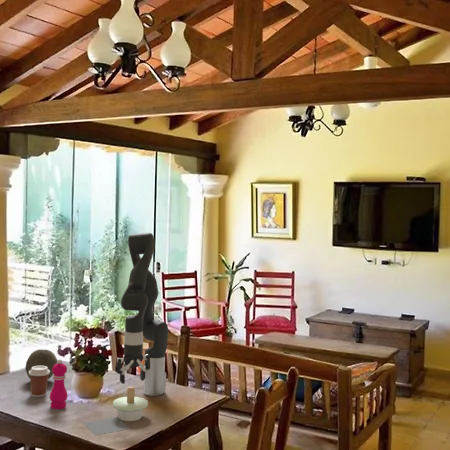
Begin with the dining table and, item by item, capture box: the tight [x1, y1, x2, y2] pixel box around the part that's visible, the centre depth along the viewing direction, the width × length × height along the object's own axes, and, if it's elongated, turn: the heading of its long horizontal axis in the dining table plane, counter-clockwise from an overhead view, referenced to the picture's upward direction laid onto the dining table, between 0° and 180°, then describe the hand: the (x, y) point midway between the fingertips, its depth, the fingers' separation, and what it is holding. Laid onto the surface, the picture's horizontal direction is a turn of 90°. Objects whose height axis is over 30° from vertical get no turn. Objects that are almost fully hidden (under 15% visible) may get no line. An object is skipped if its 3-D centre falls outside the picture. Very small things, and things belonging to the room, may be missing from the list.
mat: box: [82, 416, 131, 436], centre depth 234 cm, size 14×14×1 cm
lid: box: [112, 386, 149, 411], centre depth 245 cm, size 14×14×7 cm
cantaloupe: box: [25, 349, 58, 380], centre depth 286 cm, size 14×14×15 cm
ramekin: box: [116, 409, 144, 422], centre depth 245 cm, size 11×11×5 cm
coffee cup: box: [29, 366, 50, 398], centre depth 268 cm, size 9×9×12 cm
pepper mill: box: [49, 359, 68, 410], centre depth 253 cm, size 7×7×20 cm
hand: (132, 381), depth 244 cm, fingers open, 8 cm apart
